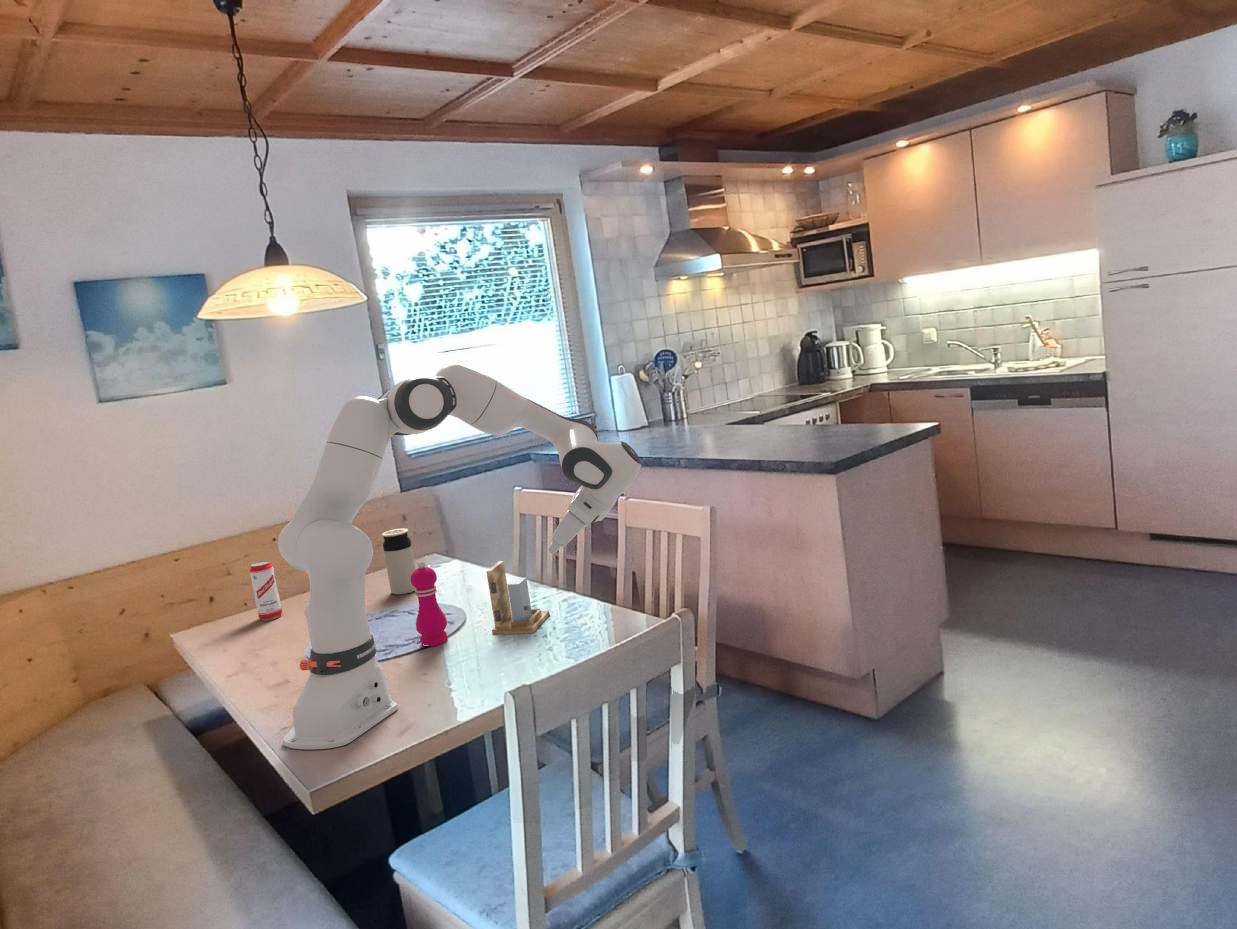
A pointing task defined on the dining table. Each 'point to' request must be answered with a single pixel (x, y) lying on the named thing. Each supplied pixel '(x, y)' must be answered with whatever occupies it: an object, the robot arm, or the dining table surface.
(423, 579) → the pepper mill
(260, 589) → the beer can
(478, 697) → the dining table surface
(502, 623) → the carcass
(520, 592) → the grey rectangular block
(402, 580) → the travel mug
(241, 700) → the dining table surface
